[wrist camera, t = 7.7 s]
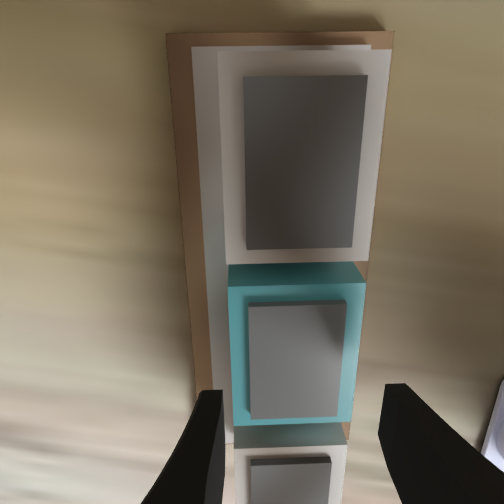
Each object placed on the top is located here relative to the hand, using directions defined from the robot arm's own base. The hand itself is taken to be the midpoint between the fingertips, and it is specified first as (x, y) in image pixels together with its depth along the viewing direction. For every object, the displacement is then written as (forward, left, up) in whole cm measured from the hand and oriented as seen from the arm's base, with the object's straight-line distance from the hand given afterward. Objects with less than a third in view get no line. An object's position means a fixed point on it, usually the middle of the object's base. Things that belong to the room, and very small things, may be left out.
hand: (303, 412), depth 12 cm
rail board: (0, 0, -9) cm, 9 cm away
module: (0, 0, -8) cm, 8 cm away
